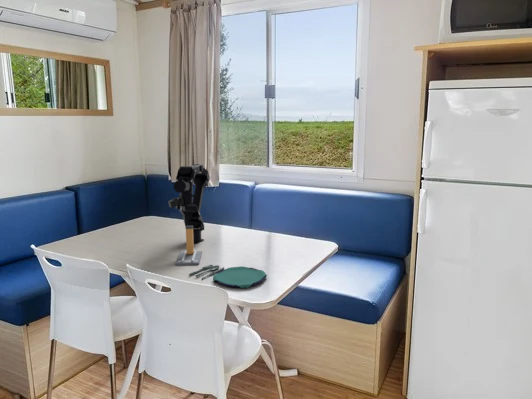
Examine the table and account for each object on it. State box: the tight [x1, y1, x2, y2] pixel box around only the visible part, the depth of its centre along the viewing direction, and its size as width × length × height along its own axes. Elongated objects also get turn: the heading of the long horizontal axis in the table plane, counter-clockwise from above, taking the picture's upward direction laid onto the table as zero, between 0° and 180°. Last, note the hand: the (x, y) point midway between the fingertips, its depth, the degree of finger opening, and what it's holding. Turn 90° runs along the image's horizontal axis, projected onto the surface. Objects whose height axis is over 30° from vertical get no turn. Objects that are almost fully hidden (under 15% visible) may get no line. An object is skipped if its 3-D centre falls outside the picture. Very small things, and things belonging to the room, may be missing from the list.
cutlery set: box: [188, 264, 268, 289], centre depth 165 cm, size 20×30×2 cm, turn 59°
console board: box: [175, 249, 203, 266], centre depth 186 cm, size 16×10×2 cm, turn 4°
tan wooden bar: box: [185, 226, 195, 254], centre depth 189 cm, size 2×3×13 cm
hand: (186, 225), depth 197 cm, fingers closed
